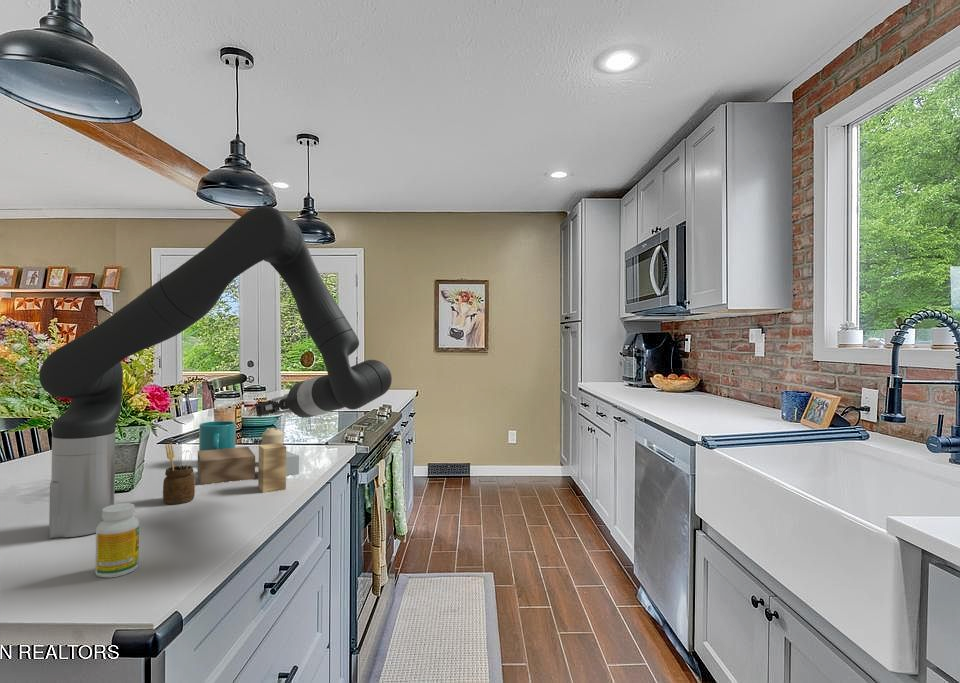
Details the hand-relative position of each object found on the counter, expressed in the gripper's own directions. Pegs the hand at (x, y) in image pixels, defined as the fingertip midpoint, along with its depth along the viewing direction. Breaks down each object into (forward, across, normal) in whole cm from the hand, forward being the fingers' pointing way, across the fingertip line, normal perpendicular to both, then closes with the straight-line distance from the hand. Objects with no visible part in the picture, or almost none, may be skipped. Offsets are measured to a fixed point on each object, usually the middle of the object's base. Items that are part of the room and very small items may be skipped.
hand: (277, 406), depth 116 cm
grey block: (+23, -9, +17) cm, 30 cm away
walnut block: (+31, +2, +14) cm, 34 cm away
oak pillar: (+12, -1, +18) cm, 22 cm away
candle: (+34, -13, +15) cm, 40 cm away
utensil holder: (+17, +17, +15) cm, 29 cm away
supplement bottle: (-13, +36, +20) cm, 43 cm away
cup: (+44, -2, +11) cm, 45 cm away
